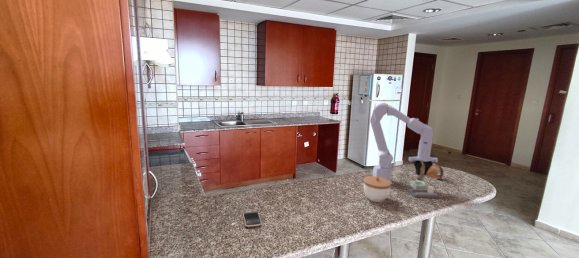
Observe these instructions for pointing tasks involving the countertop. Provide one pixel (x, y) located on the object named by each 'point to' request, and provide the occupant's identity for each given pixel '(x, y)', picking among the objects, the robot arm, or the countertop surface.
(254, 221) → the cell phone
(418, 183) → the holder
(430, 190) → the switch tab
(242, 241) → the countertop surface
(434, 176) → the tin
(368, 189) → the lidded bowl
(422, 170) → the tan rounded cylinder
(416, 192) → the switch panel
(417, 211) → the countertop surface
